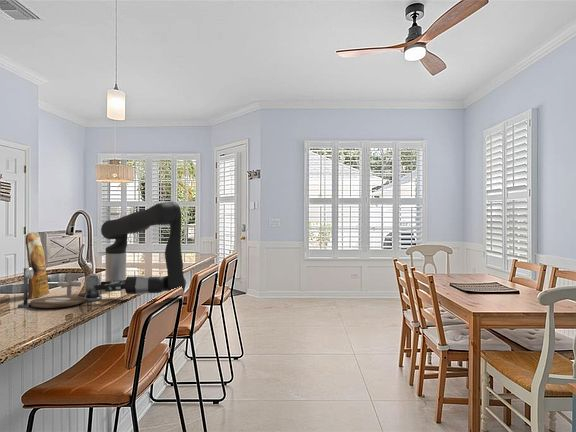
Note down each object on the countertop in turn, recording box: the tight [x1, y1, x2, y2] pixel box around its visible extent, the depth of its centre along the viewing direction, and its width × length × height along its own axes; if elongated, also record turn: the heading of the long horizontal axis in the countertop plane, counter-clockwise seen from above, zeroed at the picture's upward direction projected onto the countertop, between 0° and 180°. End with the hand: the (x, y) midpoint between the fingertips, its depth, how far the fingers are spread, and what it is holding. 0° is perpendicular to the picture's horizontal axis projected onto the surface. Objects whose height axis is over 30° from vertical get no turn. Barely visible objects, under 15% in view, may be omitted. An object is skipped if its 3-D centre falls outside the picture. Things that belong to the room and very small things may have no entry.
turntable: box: [29, 295, 85, 309], centre depth 179 cm, size 19×19×2 cm
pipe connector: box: [57, 272, 82, 296], centre depth 199 cm, size 10×10×10 cm
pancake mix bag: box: [25, 232, 50, 299], centre depth 199 cm, size 7×19×28 cm, turn 8°
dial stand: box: [17, 267, 33, 309], centre depth 175 cm, size 4×4×15 cm
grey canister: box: [83, 273, 103, 303], centre depth 190 cm, size 7×7×11 cm
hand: (98, 285), depth 190 cm, fingers open, 8 cm apart
